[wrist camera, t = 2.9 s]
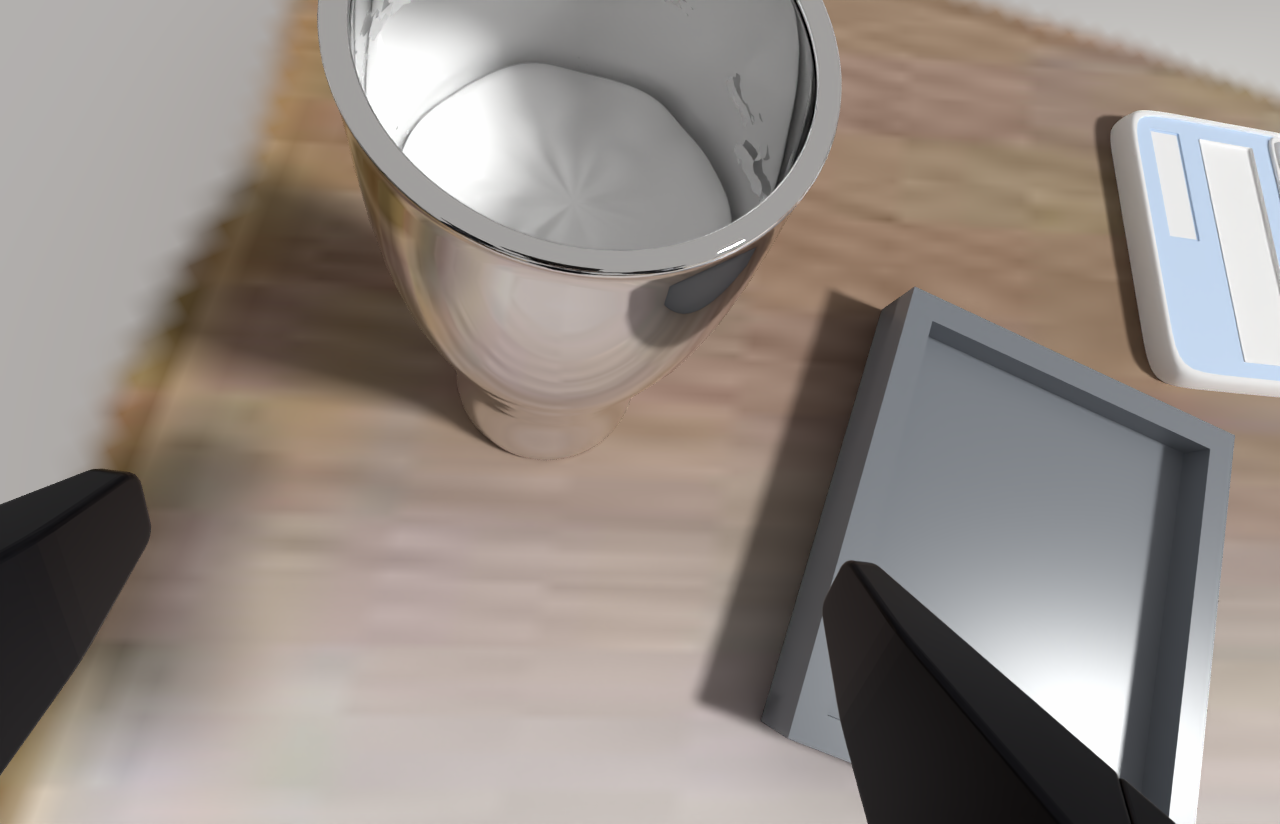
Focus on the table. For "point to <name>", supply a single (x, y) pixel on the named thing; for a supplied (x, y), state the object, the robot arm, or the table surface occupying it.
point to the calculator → (1203, 248)
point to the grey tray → (1028, 538)
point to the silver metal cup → (577, 182)
